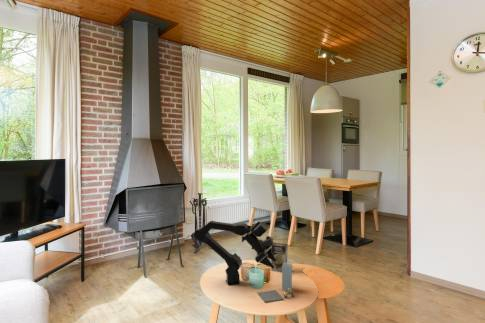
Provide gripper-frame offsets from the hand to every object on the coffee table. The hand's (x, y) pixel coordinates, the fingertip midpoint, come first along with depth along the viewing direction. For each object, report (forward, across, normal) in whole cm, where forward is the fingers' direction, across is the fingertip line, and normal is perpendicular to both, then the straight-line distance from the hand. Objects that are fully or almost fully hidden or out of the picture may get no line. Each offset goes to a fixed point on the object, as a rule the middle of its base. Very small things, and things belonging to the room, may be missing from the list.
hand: (274, 264), depth 163 cm
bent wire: (+15, -8, +3) cm, 17 cm away
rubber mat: (+9, -11, +9) cm, 17 cm away
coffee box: (+8, +26, +10) cm, 29 cm away
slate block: (+14, 0, +4) cm, 14 cm away
